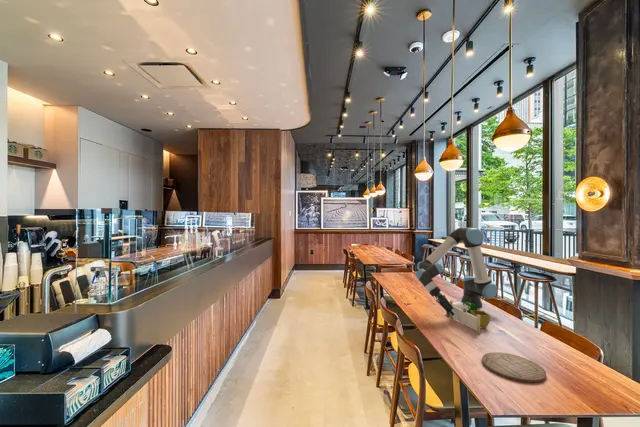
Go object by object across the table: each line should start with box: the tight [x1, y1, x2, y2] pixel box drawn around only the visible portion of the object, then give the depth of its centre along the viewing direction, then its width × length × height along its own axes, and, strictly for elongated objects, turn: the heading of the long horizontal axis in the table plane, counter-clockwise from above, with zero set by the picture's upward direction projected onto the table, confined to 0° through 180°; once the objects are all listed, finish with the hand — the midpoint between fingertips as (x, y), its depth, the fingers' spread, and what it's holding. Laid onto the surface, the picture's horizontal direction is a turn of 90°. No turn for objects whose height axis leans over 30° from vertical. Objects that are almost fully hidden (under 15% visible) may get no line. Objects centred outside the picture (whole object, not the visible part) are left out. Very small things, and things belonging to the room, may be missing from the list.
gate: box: [453, 306, 467, 326], centre depth 194 cm, size 13×2×10 cm, turn 10°
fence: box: [449, 300, 481, 335], centre depth 189 cm, size 28×3×12 cm, turn 10°
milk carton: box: [445, 301, 479, 316], centre depth 209 cm, size 9×9×20 cm
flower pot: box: [470, 310, 491, 329], centre depth 187 cm, size 9×9×9 cm
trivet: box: [481, 351, 547, 384], centre depth 135 cm, size 25×25×2 cm
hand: (457, 318), depth 192 cm, fingers closed
